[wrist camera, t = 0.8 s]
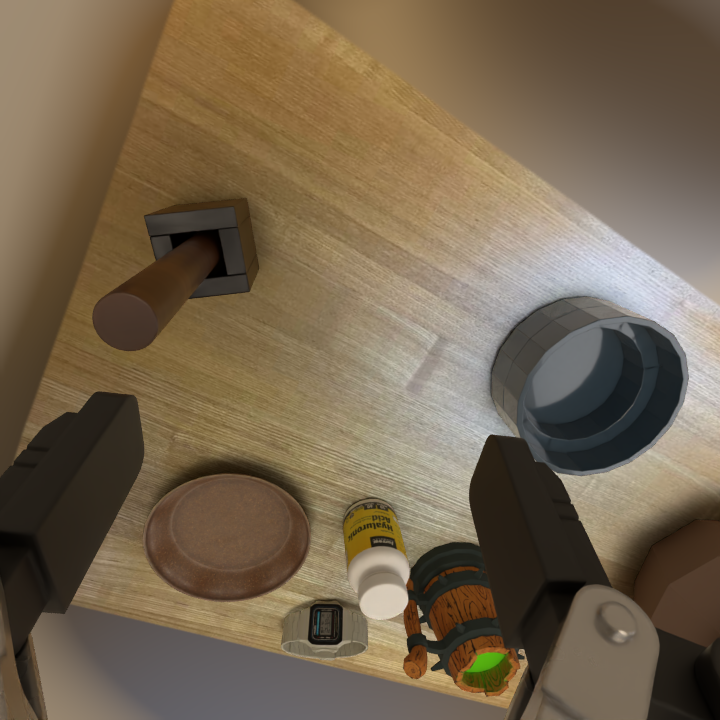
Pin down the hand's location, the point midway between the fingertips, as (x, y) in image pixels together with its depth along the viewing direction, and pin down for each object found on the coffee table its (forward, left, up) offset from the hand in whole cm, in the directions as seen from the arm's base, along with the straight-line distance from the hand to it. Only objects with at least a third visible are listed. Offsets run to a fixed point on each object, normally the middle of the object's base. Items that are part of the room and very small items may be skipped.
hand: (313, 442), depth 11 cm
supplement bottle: (+27, +3, -27) cm, 39 cm away
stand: (-1, -6, -27) cm, 28 cm away
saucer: (+25, -10, -27) cm, 38 cm away
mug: (+36, +10, -27) cm, 46 cm away
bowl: (+13, +22, -27) cm, 37 cm away
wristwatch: (+40, -3, -27) cm, 49 cm away
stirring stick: (-1, -6, -27) cm, 28 cm away
